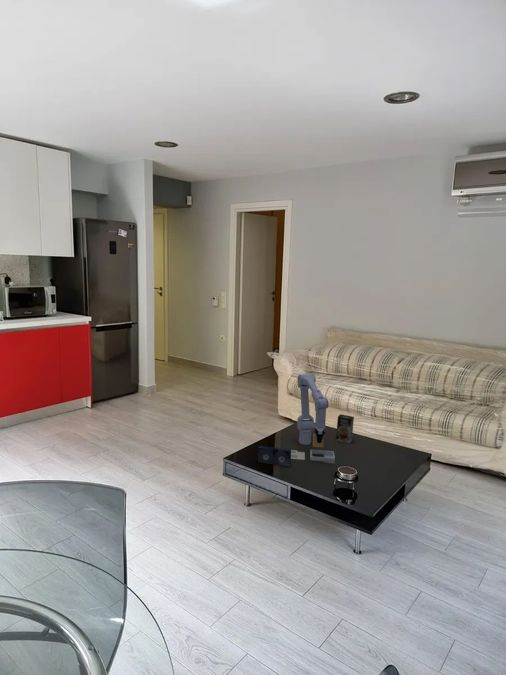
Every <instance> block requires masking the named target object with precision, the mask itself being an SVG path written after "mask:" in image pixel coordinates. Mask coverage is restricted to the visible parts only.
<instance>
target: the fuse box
mask: <svg viewBox="0 0 506 675" xmlns="http://www.w3.org/2000/svg"><path fill="white" fill-rule="evenodd" d="M290 450H291V460H303V461H305V460H306V458H305V457H306V455H305V454H306V453H305V451H298V450H297V449H296V450H295V449H290Z"/></svg>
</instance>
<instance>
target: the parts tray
mask: <svg viewBox="0 0 506 675" xmlns="http://www.w3.org/2000/svg"><path fill="white" fill-rule="evenodd" d="M309 451H310V452H309V453H310V457H309V458H310V461H318V462H323V463H324V464H333V465H334V464H336V463H335V460H336V457H335V451H334V450H331V451H330V450H323V449H322V450H319V449H310V450H309ZM315 454H316V455H323V456H315Z"/></svg>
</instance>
